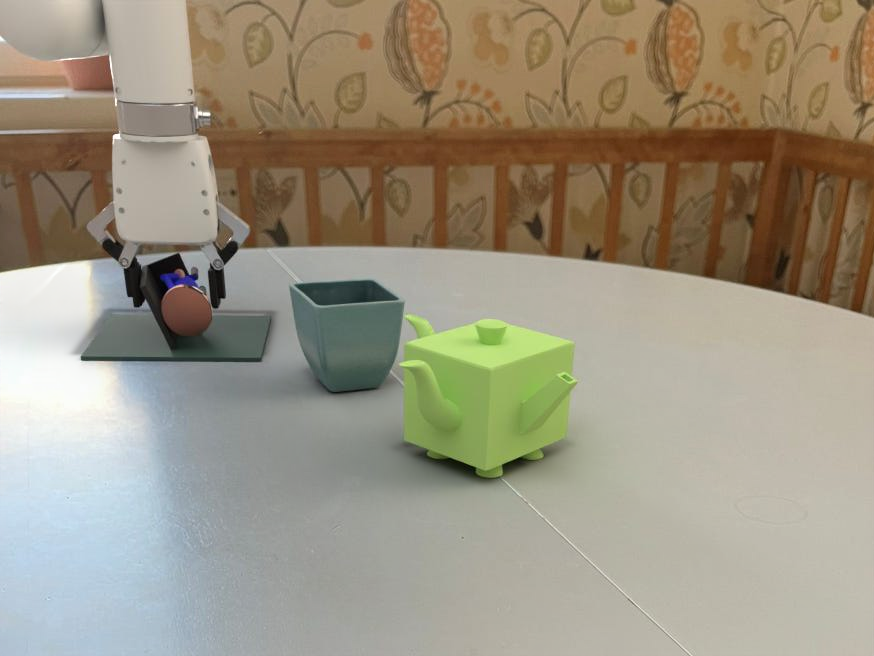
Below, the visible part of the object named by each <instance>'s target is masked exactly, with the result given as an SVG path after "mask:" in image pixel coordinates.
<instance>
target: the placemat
mask: <svg viewBox="0 0 874 656" xmlns="http://www.w3.org/2000/svg"><path fill="white" fill-rule="evenodd" d="M271 322H272V315H241V314H239V315H237V314H236V315H233V314H232V315H230V314H226V315H225V314H222V315H221V314H213V316H212V321H211V324H210V326H209V327H208V329H207V330H206V331H205V332H203V333H202V334H200V335H198V336H195V337H185V336H181V335H179V334H177V333H176V348H174V349H170V347H169V345H168V343H167V341H166V339H165V337H164V335H163V333H162V331H161V329H160V327H159V325H158V323H157V321H156V319H155V317H154V315H153V313H152V314H151V313H149V314H146V313H143V314H141V313H139V314H137V313H134V314H133V313H110V315H109V316H108V318H107V319H106V320H105V322H104V323H103V324H102V326H101V327H100V329H99V330H98V332H97V333H96V335H95V336H94V337H93V339H92V340H91V342H90V343H89V344H88V346H87V347H86V349H85V350H84V351H83V352H82V353H81V355H80V361H129V362H131V361H134V362H136V361H137V362H138V361H140V362H142V361H143V362H145V361H148V362H149V361H151V362H155V361H156V362H164V361H165V362H262V359H263V356H264V351H265V347H266V342H267V339H268V335H269V330H270V327H271Z"/></svg>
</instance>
